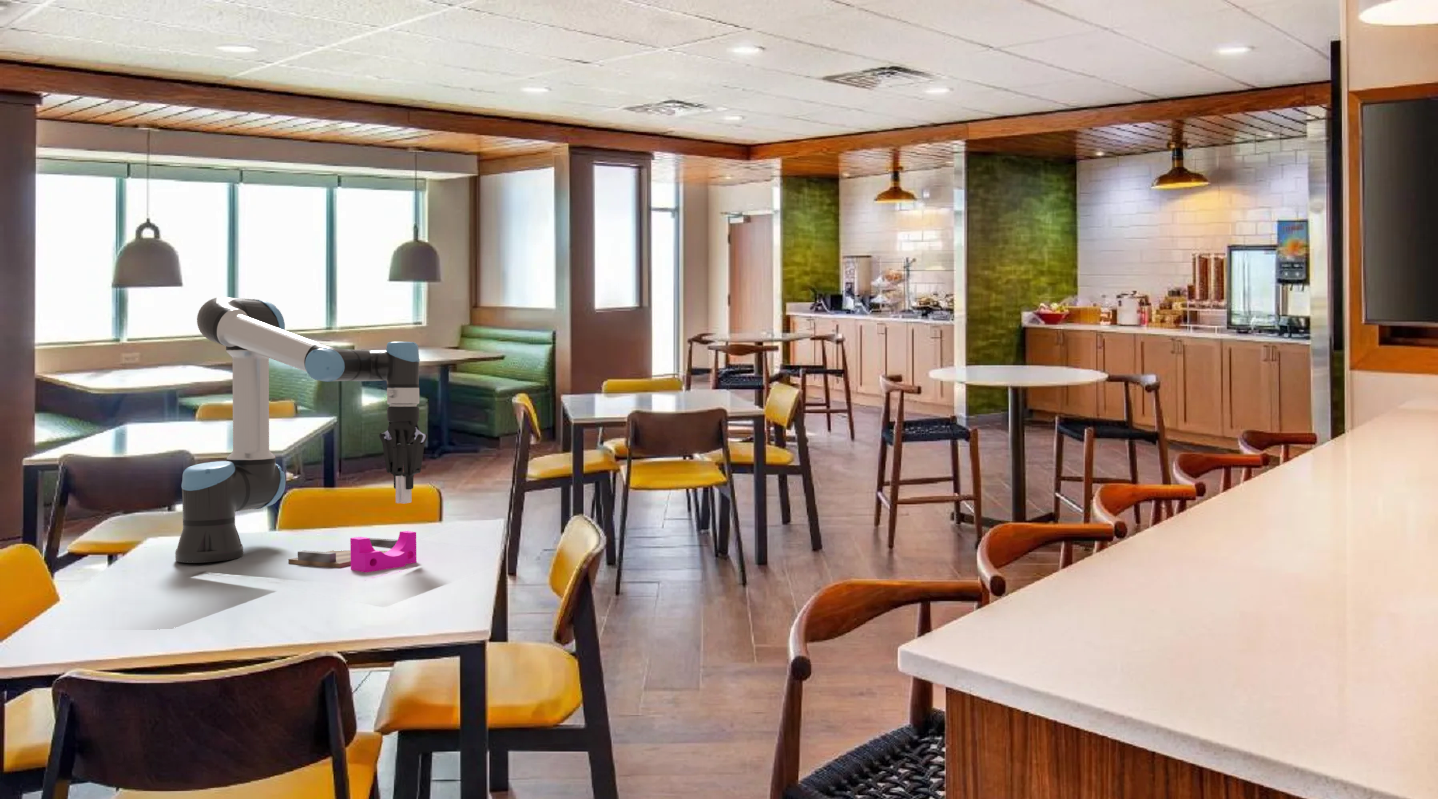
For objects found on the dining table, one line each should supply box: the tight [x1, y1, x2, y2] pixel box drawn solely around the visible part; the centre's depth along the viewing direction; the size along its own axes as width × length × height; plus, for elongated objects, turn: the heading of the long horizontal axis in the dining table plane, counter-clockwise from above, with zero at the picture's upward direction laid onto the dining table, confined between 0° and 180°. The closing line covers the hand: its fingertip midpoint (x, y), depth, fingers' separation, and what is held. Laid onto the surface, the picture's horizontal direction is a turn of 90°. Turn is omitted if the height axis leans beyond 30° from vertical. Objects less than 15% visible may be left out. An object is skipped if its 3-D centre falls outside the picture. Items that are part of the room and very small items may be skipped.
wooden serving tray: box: [288, 537, 398, 569], centre depth 262 cm, size 16×24×3 cm, turn 156°
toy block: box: [349, 530, 417, 573], centre depth 249 cm, size 15×6×8 cm, turn 139°
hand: (403, 502), depth 258 cm, fingers closed
